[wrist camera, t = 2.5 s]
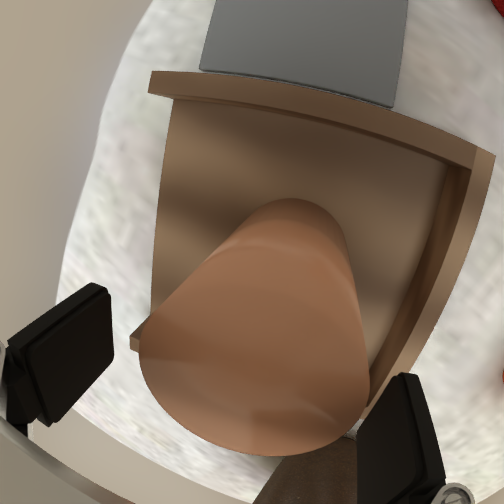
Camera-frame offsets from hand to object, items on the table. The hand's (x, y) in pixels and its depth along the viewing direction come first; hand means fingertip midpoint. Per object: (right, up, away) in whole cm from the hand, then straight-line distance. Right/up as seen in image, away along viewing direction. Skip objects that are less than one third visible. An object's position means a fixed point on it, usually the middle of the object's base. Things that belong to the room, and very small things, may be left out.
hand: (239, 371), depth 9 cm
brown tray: (+3, +4, +9) cm, 10 cm away
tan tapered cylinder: (+2, +2, +9) cm, 10 cm away
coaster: (+4, +18, +4) cm, 19 cm away
